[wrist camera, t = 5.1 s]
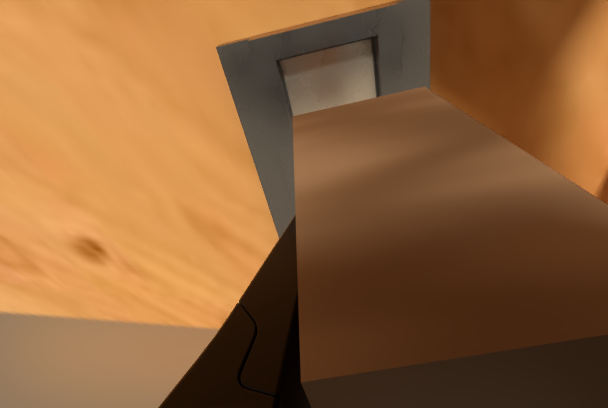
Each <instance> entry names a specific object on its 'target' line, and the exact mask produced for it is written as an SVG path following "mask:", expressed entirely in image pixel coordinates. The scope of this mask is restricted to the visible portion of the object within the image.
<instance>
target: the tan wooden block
mask: <svg viewBox="0 0 608 408" xmlns="http://www.w3.org/2000/svg"><path fill="white" fill-rule="evenodd" d="M292 120H293V151H294V182H295V213H296V245H297V276H298V307H299V338H300V370H301V384H302V386H303V389H304V391H305V393H306V396H307V398H308V401H309V403H310V405H311V408H608V204H606V203H604V202H603V201H601V200H600V199H598V198H597V197H595V196H594V195H592V194H590V193H589V192H587V191H586V190H584V189H583V188H581V187H580V186H578V185H577V184H575V183H573V182H572V181H570V180H569V179H567V178H566V177H564V176H563V175H561V174H560V173H558V172H556V171H555V170H553V169H552V168H550V167H549V166H547V165H546V164H544V163H542V162H541V161H539V160H538V159H536V158H535V157H533V156H532V155H530V154H529V153H527V152H525V151H524V150H522V149H521V148H519V147H518V146H516V145H515V144H513V143H511V142H510V141H508V140H507V139H505V138H504V137H502V136H501V135H499V134H498V133H496V132H494V131H493V130H491V129H490V128H488V127H487V126H485V125H484V124H482V123H481V122H479V121H477V120H476V119H474V118H473V117H471V116H470V115H468V114H467V113H465V112H463V111H462V110H460V109H459V108H457V107H456V106H454V105H453V104H451V103H450V102H448V101H446V100H445V99H443V98H442V97H440V96H439V95H437V94H436V93H434V92H432V91H431V90H429V89H428V88H426V87H420V88H416V89H411V90H407V91H402V92H398V93H394V94H389V95H385V96H380V97H376V98H371V99H367V100H363V101H358V102H354V103H349V104H345V105H340V106H336V107H331V108H327V109H323V110H318V111H314V112H309V113H305V114H300V115H296V116H292Z"/></svg>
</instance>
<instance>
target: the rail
mask: <svg viewBox="0 0 608 408" xmlns="http://www.w3.org/2000/svg"><path fill="white" fill-rule="evenodd" d="M216 49H217V52H218V55H219V58H220V61H221V64H222V67H223V70H224V73H225V76H226V79H227V82H228V85H229V88H230V91H231V94H232V97H233V100H234V103H235V106H236V109H237V112H238V115H239V118H240V121H241V124H242V127H243V130H244V133H245V136H246V139H247V142H248V145H249V148H250V151H251V154H252V157H253V160H254V163H255V166H256V169H257V172H258V175H259V178H260V182H261V185H262V188H263V191H264V194H265V197H266V200H267V203H268V206H269V209H270V212H271V215H272V218H273V221H274V224H275V227H276V230H277V233H278V236H279V239H280V237H281V236H282V234H283V233H284V231H285V230H286V228H287V226H288V225H289V223H290V222H291V220H292V219H293V217H294V216H295V214H296V213H295V182H294V151H293V120H292V116H296V115H300V114H305V113H309V112H314V111H318V110H323V109H327V108H331V107H336V106H340V105H345V104H349V103H354V102H358V101H363V100H367V99H371V98H376V97H380V96H385V95H389V94H394V93H398V92H402V91H407V90H411V89H416V88H420V87H426V88H428V89H429V90H430V0H397V1H393V2H389V3H385V4H381V5H377V6H373V7H369V8H365V9H361V10H357V11H353V12H349V13H345V14H341V15H337V16H333V17H329V18H325V19H321V20H317V21H313V22H309V23H305V24H301V25H297V26H293V27H289V28H285V29H281V30H277V31H273V32H269V33H265V34H261V35H257V36H253V37H249V38H245V39H241V40H237V41H233V42H229V43H225V44H221V45H219V46H217V47H216Z"/></svg>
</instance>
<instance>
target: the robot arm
mask: <svg viewBox="0 0 608 408" xmlns="http://www.w3.org/2000/svg"><path fill="white" fill-rule="evenodd" d="M158 408H311V405H310V403H309V401H308V398H307V396H306V393H305V391H304V389H303V386H302V384H301V370H300V338H299V307H298V276H297V245H296V214H295V216H294V217H293V219H292V220H291V222H290V223H289V225H288V226H287V228H286V230H285V231H284V233H283V234H282V236H281V237H280V239H279V240H278V242H277V243H276V245H275V246H274V248H273V249H272V251H271V253H270V254H269V256H268V257H267V259H266V260H265V262H264V263H263V265H262V266H261V268H260V269H259V271H258V272H257V274H256V275H255V277H254V279H253V280H252V282H251V283H250V285H249V286H248V288H247V289H246V291H245V292H244V294H243V295H242V297H241V298H240V300H239V303H237V304H236V306H235V307H234V309H233V310H232V312H231V314H230V315H229V317H228V318H227V319H226V321H225V322H224V324H223V325H222V327H221V328H220V330H219V331H218V332H217V334H216V335H215V337H214V338H213V339H212V341H211V342H210V343H209V344H208V346H207V347H206V349H205V350H204V351H203V352H202V354H201V355H200V356H199V358H198V359H197V360H196V361H195V363H194V364H193V365H192V366H191V368H190V369H189V370H188V371H187V373H186V374H185V375H184V376H183V378H182V379H181V380H180V381H179V382H178V384H177V385H176V386H175V388H174V389H173V390H172V391H171V392H170V394H169V395H168V396H167V398H166V399H165V400H164V401H163V403H162V404H161V405H160V406H159V407H158Z"/></svg>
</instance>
